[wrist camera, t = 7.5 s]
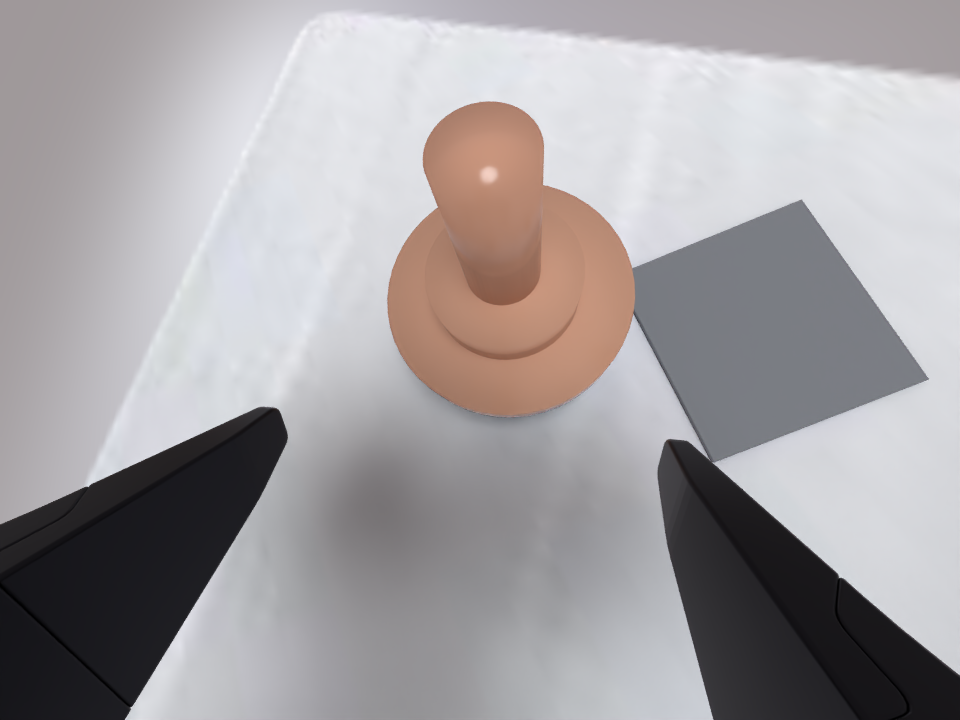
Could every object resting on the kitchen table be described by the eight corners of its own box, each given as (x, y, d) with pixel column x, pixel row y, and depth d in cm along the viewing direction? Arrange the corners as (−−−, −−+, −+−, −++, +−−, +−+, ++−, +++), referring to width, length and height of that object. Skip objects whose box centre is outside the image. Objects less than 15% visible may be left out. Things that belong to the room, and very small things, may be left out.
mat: (711, 462, 21) (714, 462, 20) (615, 277, 24) (616, 275, 23) (923, 380, 20) (928, 379, 20) (798, 202, 23) (801, 199, 23)
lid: (514, 469, 18) (488, 481, 8) (354, 312, 21) (195, 183, 11) (678, 291, 19) (829, 113, 9) (503, 163, 22) (477, -75, 12)
